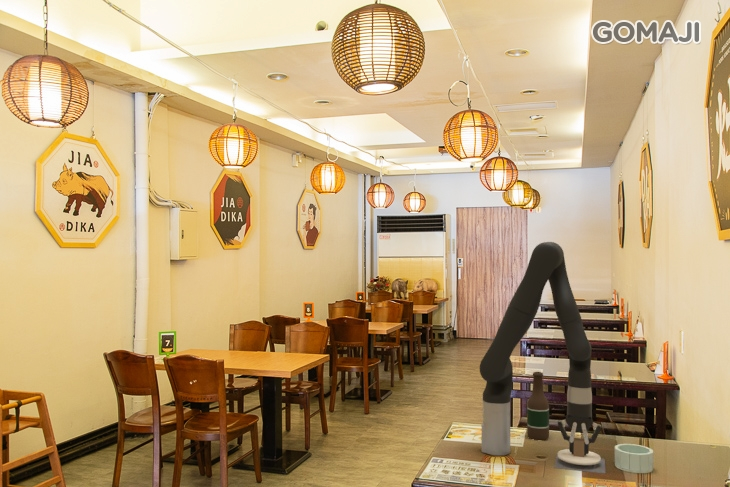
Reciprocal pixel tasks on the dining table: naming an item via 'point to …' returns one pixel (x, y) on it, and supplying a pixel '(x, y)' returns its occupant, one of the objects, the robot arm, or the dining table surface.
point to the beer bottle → (538, 411)
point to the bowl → (634, 458)
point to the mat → (581, 466)
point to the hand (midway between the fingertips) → (579, 454)
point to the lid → (579, 454)
